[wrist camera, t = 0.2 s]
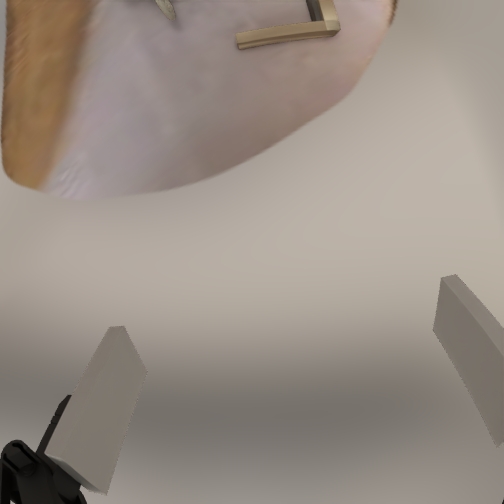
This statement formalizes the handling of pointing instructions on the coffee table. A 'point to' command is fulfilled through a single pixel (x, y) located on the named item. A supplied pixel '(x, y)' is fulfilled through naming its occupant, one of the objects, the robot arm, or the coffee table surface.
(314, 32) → the bay
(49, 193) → the coffee table surface
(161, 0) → the mug
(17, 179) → the coffee table surface
